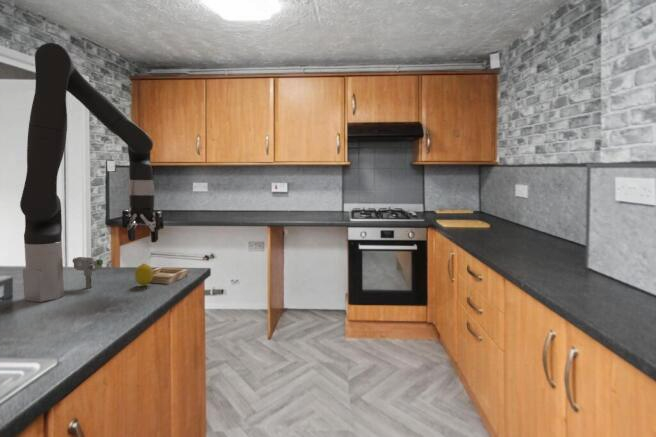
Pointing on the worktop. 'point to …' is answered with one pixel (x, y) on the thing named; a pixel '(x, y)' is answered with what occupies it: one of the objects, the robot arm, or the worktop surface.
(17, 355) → the worktop surface
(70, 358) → the worktop surface
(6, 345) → the worktop surface
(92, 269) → the mechanical component
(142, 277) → the lemon
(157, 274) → the tray
